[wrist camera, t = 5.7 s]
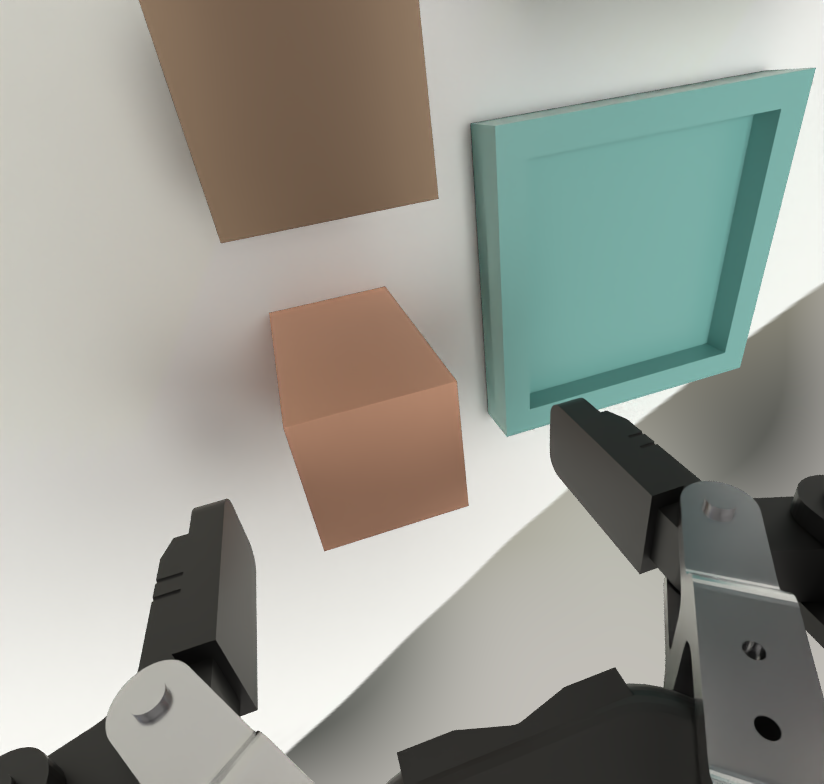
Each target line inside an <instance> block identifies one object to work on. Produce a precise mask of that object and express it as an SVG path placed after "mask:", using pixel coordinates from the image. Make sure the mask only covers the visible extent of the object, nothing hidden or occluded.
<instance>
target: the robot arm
mask: <svg viewBox="0 0 824 784" xmlns="http://www.w3.org/2000/svg"><path fill="white" fill-rule="evenodd" d="M550 458H551V462H552V465H553V467H554V470H555V472H556V473H557V475H558V476H559V478H560V479H561V480H562V481H563V483H564V484H565V485H566V486H567V487H568V489H569V490H570V491H571V492H572V493H573V495H575V497H576V498H577V499H578V501H580V503H581V504H582V505H583V506H584V507H585V509H586V510H587V511H588V513H589V514H590V515H591V516H592V517H593V518H594V520H595V521H596V522H597V523H598V524H599V526H600V527H601V528H602V529H603V530H604V532H605V533H606V534H607V535H608V536H609V538H610V539H611V540H612V541H613V542H614V544H615V545H616V546H617V547H618V548H619V550H620V551H621V552H622V553H623V554H624V556H625V557H626V558H627V559H628V560H629V562H630V563H631V564H632V565H633V566H634V568H635V569H636V570H637V571H638V572H639V574H642V573H644V572H647V571H650V570H653V569H655V568H659V569H660V571H661V572H662V573H663V574H664V575H665V578H664V585H663V586H664V622H665V655H666V657H665V659H666V660H665V661H666V662H665V676H664V687H663V688H662V687H658V686H652V685H646V684H626V683H625V682H624V680H623V679H622V677H621V676H620V674H619V673H618V671H617V670H616V668H612V669H610V670H607V671H604V672H602V673H599V674H597V675H594V676H592V677H589V678H587V679H584V680H582V681H579V682H576V683H574V684H571V685H569V686H566V687H564V688H563V689H562V690H560V691H559V692H558V693H557V694H555V695H554V696H553V697H552V698H550V699H549V700H548V701H547V702H545V703H544V704H543V705H542V706H540V707H539V708H538V709H537V710H535V711H534V712H533V713H532V714H531V715H529V716H528V717H527V718H526V719H524V720H523V721H522V722H520V723H519V724H516V725H511V726H500V727H490V728H477V729H466V730H454V731H451V732H449V733H446V734H444V735H441V736H438V737H436V738H433V739H431V740H428V741H426V742H423V743H421V744H418V745H415V746H413V747H410V748H408V749H405V750H403V751H400V752H397V755H398V760H399V764H400V769H401V772H399V773H398V774H397V775H396V776H394V777H393V778H392V779H391V780H389V782H388V783H387V784H824V698H823V694H822V690H821V686H820V683H819V679H818V675H817V671H816V668H815V664H814V660H813V656H812V653H811V649H810V646H809V642H808V638H807V634H806V631H807V632H808V633H809V634H810V635H811V636H812V637H813V638H814V639H815V640H816V641H817V642H818V643H819V644H820V645H821V646H822V647H823V648H824V475H815V476H810V477H807V478H805V479H803V480H802V481H801V482H800V483H799V484H798V487H797V489H796V493H795V495H794V497H774V498H752V497H751V496H750V495H748V494H747V493H745V492H744V491H742V490H741V489H739V488H736V487H734V486H732V485H729V484H725V483H721V482H715V481H701V480H700V479H699V478H697V477H696V476H695V475H694V474H693V473H691V472H690V471H689V470H688V469H686V468H685V467H684V466H683V465H682V464H680V463H679V462H678V461H677V460H676V459H674V458H673V457H672V456H671V455H670V454H668V453H667V452H666V451H665V450H663V449H662V448H661V447H660V446H659V445H658V444H656V445H655V444H654V441H653V440H651V439H650V438H649V437H648V436H647V435H645V434H642V431H641V430H639V429H638V428H637V427H636V426H635V425H633V424H632V423H631V422H630V421H629V420H627V419H625V418H623V417H621V416H618V415H616V414H613V413H611V412H609V411H604V412H600V411H598V410H597V409H596V408H595V407H594V406H593V405H591V404H590V403H589V402H588V401H587V400H586V399H584V398H577V399H573V400H570V401H567V402H563V403H560V404H556V405H553V406H552V408H551V411H550ZM156 581H157V584H155V589H154V594H153V602H152V604H151V609H150V614H149V619H148V624H147V629H146V634H145V639H144V644H143V649H142V654H141V659H140V664H139V669H138V672H137V674H136V675H134V676H133V677H132V678H131V679H130V680H129V681H128V682H127V683H126V684H125V685H124V686H123V687H122V688H121V690H120V691H119V692H118V694H117V695H116V697H115V698H114V700H113V702H112V704H111V706H110V708H109V711H108V714H107V716H106V717H105V718H104V719H103V720H102V721H100V722H99V723H97V724H96V725H95V726H93V727H92V728H90V729H89V730H87V731H86V732H84V733H82V734H81V735H79V736H78V737H76V738H75V739H73V740H72V741H70V742H69V743H67V744H65V745H64V746H62V747H61V748H59V749H58V750H56V751H55V752H53V753H52V754H50V755H48V756H47V755H46V754H44V753H43V752H42V751H41V750H39V749H36V748H33V747H25V748H19V749H16V750H13V751H10V752H8V753H6V754H4V755H2V756H0V784H315V783H314V782H313V781H311V780H310V778H309V777H308V776H307V775H306V774H305V773H304V772H303V771H302V770H301V769H299V768H298V767H297V766H296V765H295V764H294V763H293V762H292V761H291V760H290V759H289V758H288V757H287V756H286V755H285V754H284V753H283V752H282V751H281V750H280V749H279V748H278V747H277V746H276V745H275V744H274V743H273V742H272V741H271V740H270V739H269V738H268V737H267V736H265V735H264V734H263V733H262V732H260V731H257V732H255V731H254V730H253V729H251V728H250V727H249V726H248V725H247V724H246V723H245V722H244V721H243V720H242V719H241V718H240V716H243V715H245V714H248V713H251V712H254V711H256V710H258V700H257V619H256V566H255V560H254V555H253V551H252V548H251V545H250V543H249V540H248V538H247V536H246V534H245V532H244V529H243V527H242V525H241V523H240V521H239V518H238V516H237V514H236V512H235V510H234V507H233V505H232V503H231V502H230V500H229V499H224V500H221V501H217V502H214V503H211V504H207V505H204V506H200V507H197V508H194V509H193V511H192V514H191V521H190V528H189V534H186V535H183V536H179V537H176V538H174V539H173V540H172V542H171V543H170V545H169V546H168V548H167V549H166V551H165V553H164V554H163V556H162V557H161V559H160V563H159V568H158V573H157V578H156Z"/></svg>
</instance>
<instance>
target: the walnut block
mask: <svg viewBox="0 0 824 784" xmlns="http://www.w3.org/2000/svg"><path fill="white" fill-rule="evenodd" d="M139 2H140V5H141V8H142V11H143V14H144V17H145V20H146V23H147V26H148V29H149V32H150V35H151V38H152V41H153V44H154V47H155V49H156V52H157V55H158V58H159V61H160V64H161V67H162V70H163V73H164V76H165V79H166V82H167V85H168V88H169V91H170V94H171V97H172V100H173V103H174V106H175V109H176V112H177V115H178V118H179V120H180V123H181V126H182V129H183V132H184V135H185V138H186V141H187V144H188V147H189V150H190V153H191V156H192V159H193V162H194V165H195V168H196V171H197V174H198V177H199V180H200V183H201V186H202V189H203V192H204V194H205V197H206V200H207V203H208V206H209V209H210V212H211V215H212V218H213V221H214V224H215V227H216V230H217V233H218V236H219V239H220V242H221V243H225V242H230V241H235V240H239V239H244V238H249V237H254V236H259V235H264V234H269V233H274V232H278V231H283V230H288V229H293V228H298V227H303V226H308V225H313V224H317V223H322V222H327V221H332V220H337V219H342V218H347V217H352V216H356V215H361V214H366V213H371V212H376V211H381V210H386V209H391V208H395V207H400V206H405V205H410V204H415V203H420V202H425V201H430V200H434V199H439V198H438V188H437V178H436V168H435V158H434V148H433V138H432V128H431V118H430V108H429V98H428V88H427V78H426V68H425V58H424V48H423V38H422V28H421V18H420V8H419V0H139Z"/></svg>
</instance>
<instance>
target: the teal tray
mask: <svg viewBox="0 0 824 784" xmlns="http://www.w3.org/2000/svg"><path fill="white" fill-rule="evenodd" d="M815 69H816V68H803V69H785V70H767V71H761V72H755V73H750V74H744V75H739V76H733V77H727V78H722V79H716V80H711V81H705V82H700V83H694V84H688V85H683V86H677V87H672V88H666V89H660V90H655V91H649V92H644V93H638V94H632V95H627V96H621V97H616V98H610V99H604V100H599V101H593V102H588V103H582V104H577V105H571V106H565V107H560V108H554V109H549V110H543V111H537V112H532V113H526V114H521V115H515V116H509V117H504V118H498V119H493V120H487V121H481V122H476V123H471V136H472V153H473V169H474V185H475V202H476V218H477V234H478V251H479V267H480V283H481V300H482V316H483V332H484V349H485V365H486V381H487V398H488V413H489V415H490V416H491V417H492V418H493V420H494V421H495V422H496V423H497V425H498V426H499V427H500V429H501V430H502V431H503V432H504V434H505V435H506V436H507V437H508V436H511V435H515V434H518V433H521V432H525V431H528V430H531V429H535V428H538V427H541V426H545V425H548V424H550V411H551V408H552V406H553V405H556V404H560V403H563V402H567V401H570V400H573V399H577V398H584V399H586V400H587V401H588V402H589V403H590V404H591V405H593V406H594V407H595V408H596V409H597V410H599V409H602V408H605V407H609V406H612V405H615V404H619V403H622V402H625V401H629V400H632V399H635V398H639V397H642V396H646V395H649V394H652V393H656V392H659V391H662V390H666V389H669V388H672V387H676V386H679V385H683V384H686V383H689V382H693V381H696V380H699V379H703V378H706V377H709V376H713V375H716V374H719V373H723V372H726V371H730V370H733V369H736V368H739V367H740V365H741V361H742V357H743V353H744V349H745V345H746V341H747V337H748V333H749V329H750V325H751V321H752V317H753V314H754V310H755V306H756V302H757V298H758V294H759V290H760V286H761V282H762V278H763V274H764V270H765V266H766V262H767V258H768V254H769V250H770V246H771V242H772V239H773V235H774V231H775V227H776V223H777V219H778V215H779V211H780V207H781V203H782V199H783V195H784V191H785V187H786V183H787V179H788V175H789V171H790V167H791V164H792V160H793V156H794V152H795V148H796V144H797V140H798V136H799V132H800V128H801V124H802V120H803V116H804V112H805V108H806V104H807V100H808V96H809V92H810V89H811V85H812V81H813V77H814V73H815Z"/></svg>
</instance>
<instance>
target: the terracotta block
mask: <svg viewBox="0 0 824 784" xmlns="http://www.w3.org/2000/svg"><path fill="white" fill-rule="evenodd" d="M269 315H270V323H271V331H272V339H273V347H274V356H275V364H276V372H277V380H278V388H279V396H280V405H281V413H282V421H283V428H284V431H285V434H286V437H287V440H288V443H289V446H290V449H291V452H292V455H293V458H294V461H295V464H296V467H297V470H298V473H299V476H300V479H301V482H302V485H303V488H304V491H305V494H306V497H307V500H308V503H309V506H310V509H311V512H312V515H313V518H314V521H315V524H316V527H317V530H318V533H319V536H320V539H321V542H322V545H323V548H324V551H327V550H330V549H333V548H336V547H340V546H343V545H346V544H349V543H352V542H355V541H359V540H362V539H365V538H368V537H371V536H374V535H378V534H381V533H384V532H387V531H390V530H393V529H397V528H400V527H403V526H406V525H409V524H412V523H416V522H419V521H422V520H425V519H428V518H431V517H435V516H438V515H441V514H444V513H447V512H450V511H453V510H457V509H460V508H463V507H466V506H469V505H468V494H467V484H466V473H465V463H464V452H463V442H462V431H461V421H460V410H459V400H458V389H457V381H456V380H455V378H454V377H453V376H452V374H451V373H450V372H449V370H448V369H447V368H446V366H445V365H444V364H443V362H442V361H441V360H440V359H439V357H438V356H437V355H436V353H435V352H434V351H433V349H432V348H431V347H430V345H429V344H428V343H427V341H426V340H425V339H424V337H423V336H422V335H421V333H420V332H419V331H418V329H417V328H416V327H415V325H414V324H413V323H412V321H411V320H410V319H409V318H408V316H407V315H406V314H405V312H404V311H403V310H402V308H401V307H400V306H399V304H398V303H397V302H396V300H395V299H394V298H393V296H392V295H391V294H390V292H389V291H388V290H387V288H386V287H381V288H376V289H372V290H368V291H363V292H359V293H354V294H350V295H346V296H341V297H337V298H333V299H328V300H324V301H319V302H315V303H311V304H306V305H302V306H297V307H293V308H289V309H284V310H280V311H276V312H271V313H269Z"/></svg>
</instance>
